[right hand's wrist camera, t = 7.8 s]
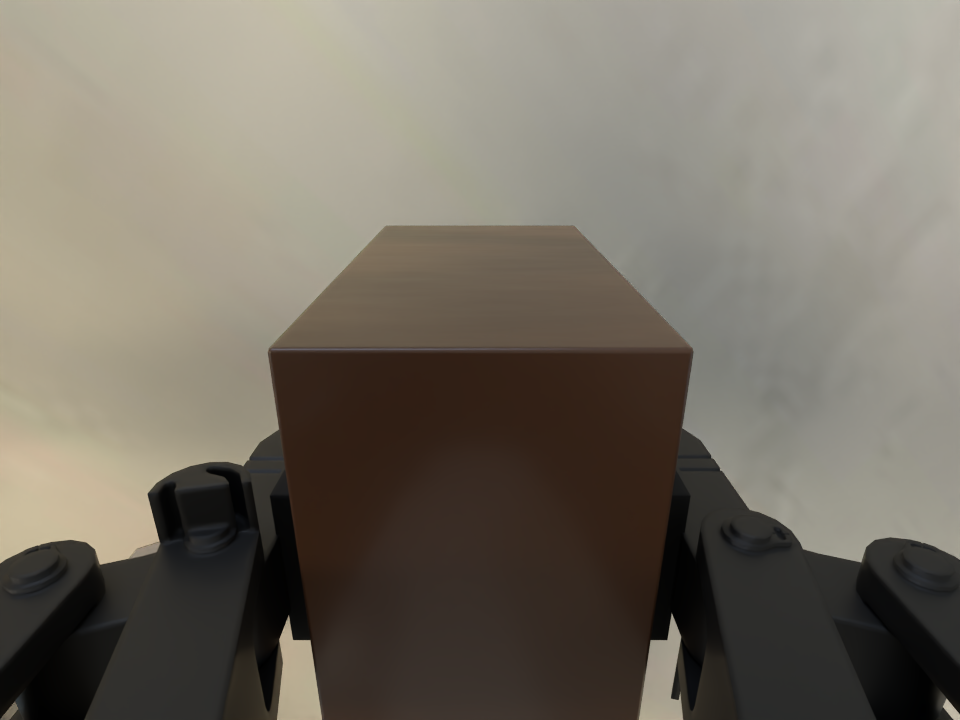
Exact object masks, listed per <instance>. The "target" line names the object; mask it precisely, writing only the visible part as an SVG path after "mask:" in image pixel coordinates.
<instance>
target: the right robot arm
mask: <svg viewBox="0 0 960 720" xmlns="http://www.w3.org/2000/svg"><path fill="white" fill-rule="evenodd" d="M148 498H149V501H150V505H151V509H152V513H153V517H154V521H155V525H156V529H157V533H158V536H159V540H160V545H159V547H158V550H157V552H155V553H152V554H148V555H144V556H140V557H135V558H131V559H126V560H121V561H116V562H112V563H107V564H102V565H100V564H99V561H98V558H97V555H96V552H95V549H94V548H92V547H91V546H90V545H89V544H87V543H86V542H80V541H74V540H67V541H58V542H50V543H46V544H41V545H40V546H35V547H32V548H29V549H26V550H24V551H23V552H21V553H19V554H17V555H15V556H12V557H10V558H8V559H6V560H5V561H3V562H2V563H1V564H0V719H1V717H2V716H3V715H4V714H5V712H6V711H7V710H8V709H9V708H10V706H11V705H12V704H13V703H14V702H16V704H17V706H18V710H17V712H16V713H15V714H14V715H13V717H12V718H11V719H10V720H277V713H278V704H279V694H280V685H281V675H282V666H283V661H282V654H281V648H280V642H279V638H280V636H281V633H282V631H283V628H284V626H285V623H286V621H287V618H288V615H289V618H290V624H291V630H292V636H293V640H310V633H309V626H308V619H307V613H306V606H305V599H304V592H303V586H302V579H301V572H300V565H299V559H298V552H297V545H296V538H295V532H294V525H293V518H292V511H291V505H290V498H289V491H288V484H287V478H286V471H285V464H284V457H283V451H282V444H281V437H280V430H278V431H276V432H275V433H273V434H272V435H270V436H269V437H267V438H266V439H264V440H263V441H261V442H260V443H259V445H258V446H257V448H256V449H255V451H254V452H253V453H252V455H251V456H250V460H249V461H247V462H246V463H245V465H244V466H242V465H238V464H233V463H229V462H209V463H204V464H199V465H194V466H190V467H187V468H185V469H182V470H180V471H177V472H174V473H172V474H170V475H169V476H167V477H166V478H164V479H162V480H161V481H159V482H158V483H157V484H156V485H155V486H154V487H153V488H152V489H151V490H150V492H149V493H148ZM671 614H673V617H674V619H675V622H676V624H677V627H678V629H679V632H680V634H681V642H680V648H679V654H678V660H677V665H676V671H675V677H674V682H673V688H672V695H671V699H676V700H679V695H680V693H681V702H682V712H683V720H953V719H952V718H951V716H950V715H949V714H948V713H947V712H946V710H945V709H944V708H943V705H944V703H945V700H946V698H947V699H948V700H949V702H950V703H951V704H952V705H953V706H954V708H955V709H956V710H957V711H958V712H959V714H960V560H959V559H957V558H956V557H954V556H952V555H950V554H948V553H946V552H944V551H942V550H940V549H938V548H936V547H934V546H931V545H928V544H925V543H921V542H918V541H913V540H908V539H899V538H885V539H879V540H874V541H873V542H872V543H871V544H870V545H868V546H867V547H866V550H865V553H864V556H863V559H862V563H861V562H856V561H851V560H846V559H842V558H837V557H832V556H827V555H822V554H818V553H814V552H811V551H807V550H803V549H802V546H801V544H800V542H799V541H798V539H797V538H796V537H795V535H794V534H793V533H792V531H791V530H789V529H788V528H787V527H785V526H784V525H783V524H781V523H780V522H779V521H777V520H775V519H773V518H771V517H768V516H766V515H764V514H762V513H759V512H755V511H751V510H749V509H748V507H747V506H746V504H745V503H744V502H743V500H742V499H741V497H740V496H739V494H738V493H737V492H736V490H735V489H734V487H733V486H732V485H731V483H730V482H729V480H728V479H727V477H726V476H725V475H724V473H723V472H722V471H720V468H719V466H718V465H717V463H716V462H715V460H714V459H711V455H710V453H709V452H708V451H707V449H706V448H705V446H704V445H703V443H702V442H701V441H700V440H699V439H697V438H696V437H694V436H693V435H691V434H690V433H688V432H687V431H685V430H684V429H682V432H681V439H680V446H679V452H678V459H677V466H676V472H675V479H674V486H673V493H672V499H671V506H670V513H669V519H668V526H667V533H666V540H665V546H664V553H663V560H662V566H661V573H660V580H659V587H658V593H657V600H656V607H655V613H654V620H653V627H652V634H651V640H667V638H668V632H669V626H670V620H671Z"/></svg>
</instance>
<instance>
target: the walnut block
mask: <svg viewBox="0 0 960 720" xmlns="http://www.w3.org/2000/svg"><path fill="white" fill-rule="evenodd" d="M268 356H269V363H270V370H271V377H272V383H273V390H274V397H275V404H276V410H277V417H278V424H279V430H280V437H281V444H282V451H283V457H284V464H285V471H286V478H287V484H288V491H289V498H290V505H291V511H292V518H293V525H294V532H295V538H296V545H297V552H298V559H299V565H300V572H301V579H302V586H303V592H304V599H305V606H306V613H307V619H308V626H309V633H310V640H311V646H312V653H313V660H314V667H315V673H316V680H317V687H318V694H319V700H320V707H321V714H322V720H639V714H640V707H641V701H642V694H643V687H644V680H645V674H646V667H647V660H648V654H649V647H650V640H651V634H652V627H653V620H654V613H655V607H656V600H657V593H658V587H659V580H660V573H661V566H662V560H663V553H664V546H665V540H666V533H667V526H668V519H669V513H670V506H671V499H672V493H673V486H674V479H675V472H676V466H677V459H678V452H679V446H680V439H681V432H682V425H683V419H684V412H685V405H686V399H687V392H688V385H689V379H690V372H691V365H692V358H693V349H692V347H691V346H690V345H689V344H688V343H687V342H686V341H685V340H684V339H683V338H682V337H681V336H680V335H679V334H678V333H677V332H676V331H675V330H674V329H673V328H672V327H671V326H670V325H669V323H668V322H667V321H666V320H665V319H664V318H663V317H662V316H661V315H660V314H659V313H658V312H657V311H656V310H655V309H654V308H653V307H652V306H651V305H650V304H649V303H648V302H647V301H646V300H645V299H644V298H643V297H642V296H641V295H640V293H639V292H638V291H637V290H636V289H635V288H634V287H633V286H632V285H631V284H630V283H629V282H628V281H627V280H626V279H625V278H624V277H623V276H622V275H621V274H620V273H619V272H618V271H617V270H616V269H615V268H614V267H613V266H612V265H611V263H610V262H609V261H608V260H607V259H606V258H605V257H604V256H603V255H602V254H601V253H600V252H599V251H598V250H597V249H596V248H595V247H594V246H593V245H592V244H591V243H590V242H589V241H588V240H587V239H586V238H585V237H584V236H583V234H582V233H581V232H580V231H579V230H578V229H577V228H576V227H575V226H385V227H384V228H383V229H382V230H381V231H380V232H379V233H378V234H377V236H376V237H375V238H374V239H373V240H372V241H371V242H370V243H369V244H368V245H367V246H366V247H365V248H364V249H363V250H362V251H361V252H360V253H359V254H358V255H357V257H356V258H355V259H354V260H353V261H352V262H351V263H350V264H349V265H348V266H347V267H346V268H345V269H344V270H343V271H342V272H341V273H340V274H339V275H338V276H337V278H336V279H335V280H334V281H333V282H332V283H331V284H330V285H329V286H328V287H327V288H326V289H325V290H324V291H323V292H322V293H321V294H320V295H319V296H318V297H317V299H316V300H315V301H314V302H313V303H312V304H311V305H310V306H309V307H308V308H307V309H306V310H305V311H304V312H303V313H302V314H301V315H300V316H299V317H298V318H297V320H296V321H295V322H294V323H293V324H292V325H291V326H290V327H289V328H288V329H287V330H286V331H285V332H284V333H283V334H282V335H281V336H280V337H279V338H278V339H277V341H276V342H275V343H274V344H273V345H272V346H271V347H270V348H269V350H268Z"/></svg>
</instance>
